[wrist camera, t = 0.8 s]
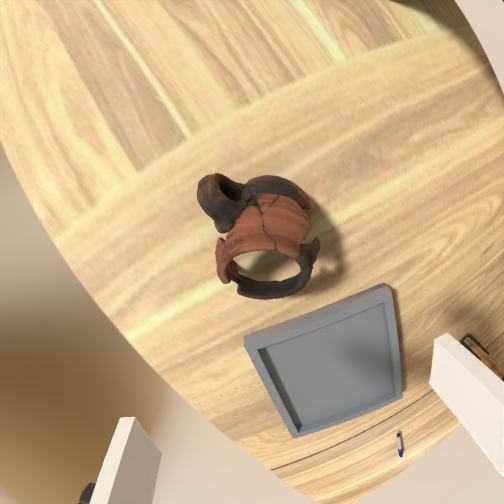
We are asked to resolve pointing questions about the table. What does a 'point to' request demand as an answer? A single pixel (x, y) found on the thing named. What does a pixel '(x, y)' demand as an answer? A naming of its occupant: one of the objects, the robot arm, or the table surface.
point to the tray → (331, 361)
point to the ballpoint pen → (399, 445)
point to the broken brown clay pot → (259, 229)
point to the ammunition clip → (481, 354)
